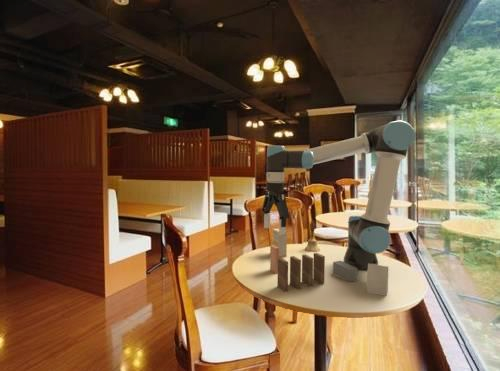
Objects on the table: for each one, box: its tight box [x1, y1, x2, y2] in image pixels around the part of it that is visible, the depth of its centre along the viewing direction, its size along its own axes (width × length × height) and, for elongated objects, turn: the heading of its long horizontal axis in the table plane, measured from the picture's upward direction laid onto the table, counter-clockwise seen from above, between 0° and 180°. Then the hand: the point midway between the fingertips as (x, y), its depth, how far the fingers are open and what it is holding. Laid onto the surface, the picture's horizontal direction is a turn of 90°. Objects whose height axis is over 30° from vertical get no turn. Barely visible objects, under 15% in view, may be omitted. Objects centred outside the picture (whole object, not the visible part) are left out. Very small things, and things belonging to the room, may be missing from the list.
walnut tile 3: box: [301, 254, 314, 288], centre depth 111 cm, size 2×5×11 cm, turn 24°
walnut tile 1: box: [277, 257, 289, 293], centre depth 107 cm, size 2×5×11 cm, turn 24°
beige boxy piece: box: [365, 263, 389, 296], centre depth 105 cm, size 4×7×10 cm, turn 58°
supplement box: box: [272, 228, 288, 258], centre depth 148 cm, size 8×5×13 cm, turn 17°
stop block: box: [332, 260, 359, 283], centre depth 119 cm, size 4×10×5 cm, turn 24°
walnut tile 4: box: [313, 252, 326, 285], centre depth 114 cm, size 2×5×11 cm, turn 24°
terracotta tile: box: [269, 244, 280, 275], centre depth 125 cm, size 2×5×11 cm, turn 24°
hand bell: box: [304, 220, 321, 253], centre depth 158 cm, size 8×8×16 cm
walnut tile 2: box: [289, 255, 302, 290], centre depth 109 cm, size 2×5×11 cm, turn 24°
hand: (274, 231), depth 124 cm, fingers open, 13 cm apart
